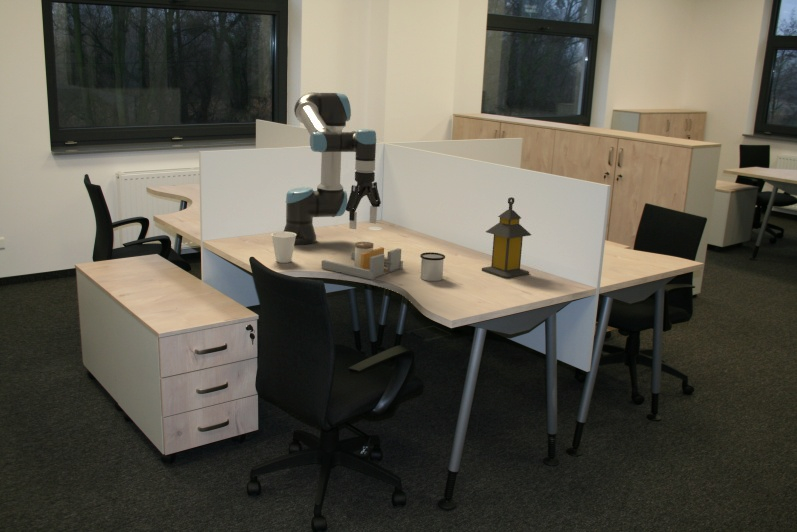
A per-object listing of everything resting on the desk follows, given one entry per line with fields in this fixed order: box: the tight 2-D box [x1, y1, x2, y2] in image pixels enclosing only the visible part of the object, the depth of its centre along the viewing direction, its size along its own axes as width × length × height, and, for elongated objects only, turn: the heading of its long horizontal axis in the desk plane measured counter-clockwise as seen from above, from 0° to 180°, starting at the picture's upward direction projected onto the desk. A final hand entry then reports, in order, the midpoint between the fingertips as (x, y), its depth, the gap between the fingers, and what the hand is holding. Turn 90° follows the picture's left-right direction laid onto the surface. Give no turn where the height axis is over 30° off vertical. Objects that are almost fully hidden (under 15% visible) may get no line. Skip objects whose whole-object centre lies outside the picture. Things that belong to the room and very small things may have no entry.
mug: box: [419, 251, 446, 282], centre depth 283 cm, size 12×10×9 cm
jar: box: [354, 241, 375, 268], centre depth 291 cm, size 7×7×10 cm
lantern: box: [481, 197, 532, 280], centre depth 292 cm, size 14×14×30 cm
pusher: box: [361, 247, 392, 270], centre depth 287 cm, size 14×9×7 cm, turn 147°
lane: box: [321, 248, 404, 281], centre depth 291 cm, size 21×24×8 cm
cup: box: [270, 231, 296, 264], centre depth 297 cm, size 10×10×11 cm
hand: (363, 225), depth 288 cm, fingers open, 13 cm apart
